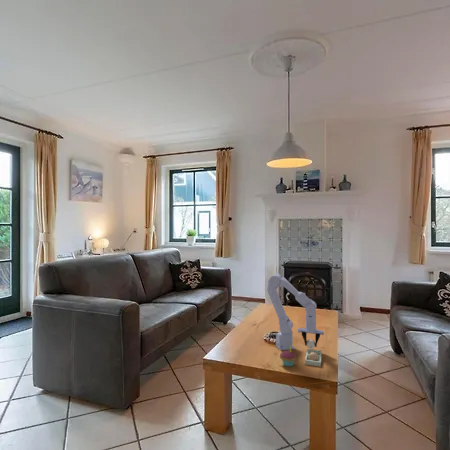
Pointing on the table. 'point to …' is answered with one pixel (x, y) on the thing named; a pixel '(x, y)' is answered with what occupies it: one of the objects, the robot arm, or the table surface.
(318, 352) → the carton
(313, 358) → the brown egg
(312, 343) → the white egg
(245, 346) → the table surface
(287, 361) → the cupcake
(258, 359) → the table surface
